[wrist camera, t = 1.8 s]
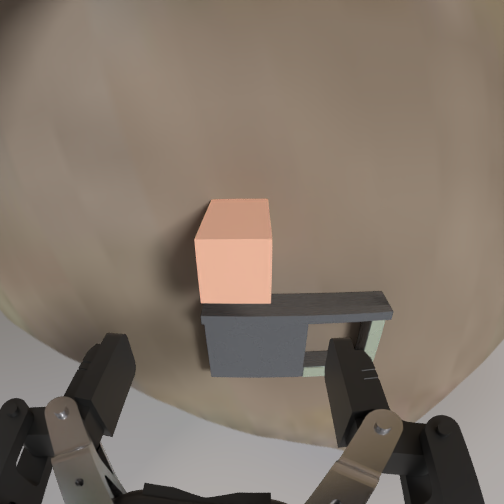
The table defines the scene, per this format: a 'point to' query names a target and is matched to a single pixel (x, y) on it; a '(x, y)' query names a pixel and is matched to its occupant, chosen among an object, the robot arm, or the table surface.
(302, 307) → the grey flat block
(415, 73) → the table surface
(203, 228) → the salmon pink block
